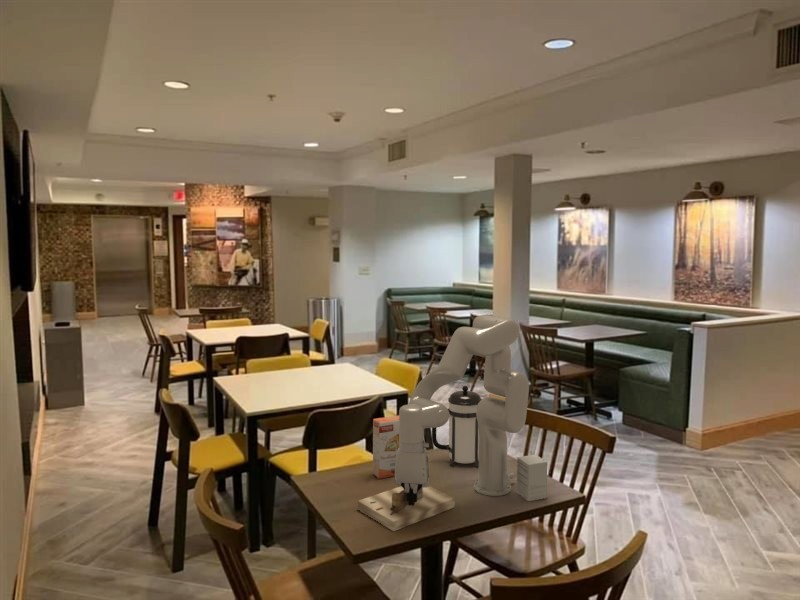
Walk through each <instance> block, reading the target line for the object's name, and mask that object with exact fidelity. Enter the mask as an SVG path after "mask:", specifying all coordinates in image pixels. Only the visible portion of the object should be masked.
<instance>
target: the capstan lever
mask: <svg viewBox="0 0 800 600" xmlns="http://www.w3.org/2000/svg"><path fill="white" fill-rule="evenodd" d="M410 484H411V488H412V490H413V487H414V484H412V483H410ZM422 496H423V488H421V489H420V490H419V491H417V499H419V498H421V497H422ZM408 503H409V501H407V493H406V491H405V489H404V490H402V491H401V492H400V493H393V494H392V507H391V508H390V510H392V511H394V512H398V511H399V510H400V509H402V508H403V507H404V506H406V505H407V504H408Z"/></svg>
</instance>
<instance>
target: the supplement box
mask: <svg viewBox="0 0 800 600" xmlns="http://www.w3.org/2000/svg"><path fill="white" fill-rule="evenodd" d="M516 460H517V461H516V462H517V463H516V464H517V465H516V469H517V470H516V471H517V472H516V473H517V474H516V493H517V494H518V495H519V496H520V495H521V498H523V497H524V498H525V499H524V498H523V499H524V500H526V501H527V502H531V501H537V500H543V498H544V499H547V496H548V461H547V460H545V459H543V458H542V457H540V456H539V455H537V454H531V455H530V454H529V455H523V456H517V458H516Z"/></svg>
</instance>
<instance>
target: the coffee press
mask: <svg viewBox="0 0 800 600" xmlns="http://www.w3.org/2000/svg"><path fill="white" fill-rule="evenodd" d="M461 389H462V390H457V391H454V392H452V393H451V394H450V395H449V397H448V398H447V400H448V406H449V407H448V408H447V409H448V411H449V419H448V444H440V443H439V441H438V439H437V428H431V442H432V444H433V446H434V447H435V448H436V449H439V450H442V451H443V450H444V451H448V457H449V459H450V462H449V467H452V468H454V467H455V466H456V465H457V464H473V466H474V467H475V469H477V468H478V469H479V427H478V421H477V416H476V409H477V405H478V403H479V402H480V401H481V400H482V399H483V398H482V397H481V396H480V394H479V393H477V392H475V391H472V390H469V387H468V385H463V386H462V388H461Z"/></svg>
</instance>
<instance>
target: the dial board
mask: <svg viewBox="0 0 800 600" xmlns="http://www.w3.org/2000/svg"><path fill="white" fill-rule="evenodd" d="M402 490H404V488H403V487H402V486H396V487H394V488H392V489H389V490H385V491H383V492H380V493H377V494H374V495H371V496H367V497H366V498H362V499H359V500H357V510H358V511H359V510H360V511H359V512H361V513H362V512H363V514H364V513H365V514H364V515H366V516H367V515H368V516H367V517H369V516H370V517H371V519H372V518H373V519H372V520H374V521H375V520H376V522H377V521H378V523H379V524H380V523H381V525H382V526H384V527H385V528H387V529H389V530H390V531H392V532H395V531H398V530H400V529H403V528H405V527H409V526H410V525H413V524H415V523H418V522H420V521H424V520H426V519H428V518H432V517H434V516H437V515H439V514H441V513H443V512H446V511H449V510H451V509H454V508H455V506H456V505H455V504H456V503H455V502H456V501H455V500H456V498H455V497H453V496H451V495H449V494H447V493H445V492H442V491H440V490H438V489H437V488H434V487H432V486H430V485H429V486H428V487H424V488H423V496H422V497H421V498H419V499H417V502H415V504H414V506H412V505H409V503H408V504H407V505H406V506H404V507H403V508H402V509H400V510H399V511H398V512H394V511H392V510H390V508H391V507H392V494H393V493H400V492H401V491H402ZM370 517H369V518H370Z"/></svg>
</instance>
